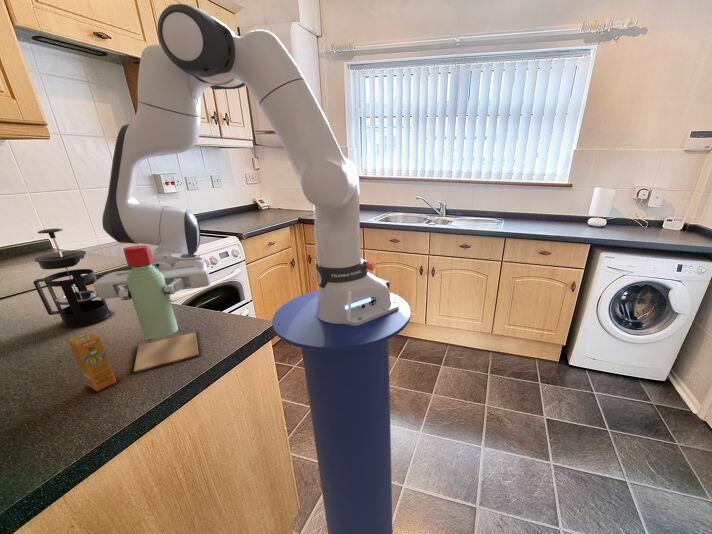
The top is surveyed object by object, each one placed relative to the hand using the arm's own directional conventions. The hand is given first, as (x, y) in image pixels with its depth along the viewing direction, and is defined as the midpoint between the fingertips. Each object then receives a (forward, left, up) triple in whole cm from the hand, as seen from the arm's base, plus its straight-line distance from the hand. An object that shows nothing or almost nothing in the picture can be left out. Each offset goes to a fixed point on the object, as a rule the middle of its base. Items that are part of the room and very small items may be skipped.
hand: (147, 293), depth 66 cm
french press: (+18, -30, -14) cm, 37 cm away
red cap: (0, -2, +5) cm, 6 cm away
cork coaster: (0, -1, -14) cm, 14 cm away
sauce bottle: (0, -1, -9) cm, 9 cm away
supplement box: (+10, +6, -14) cm, 18 cm away
